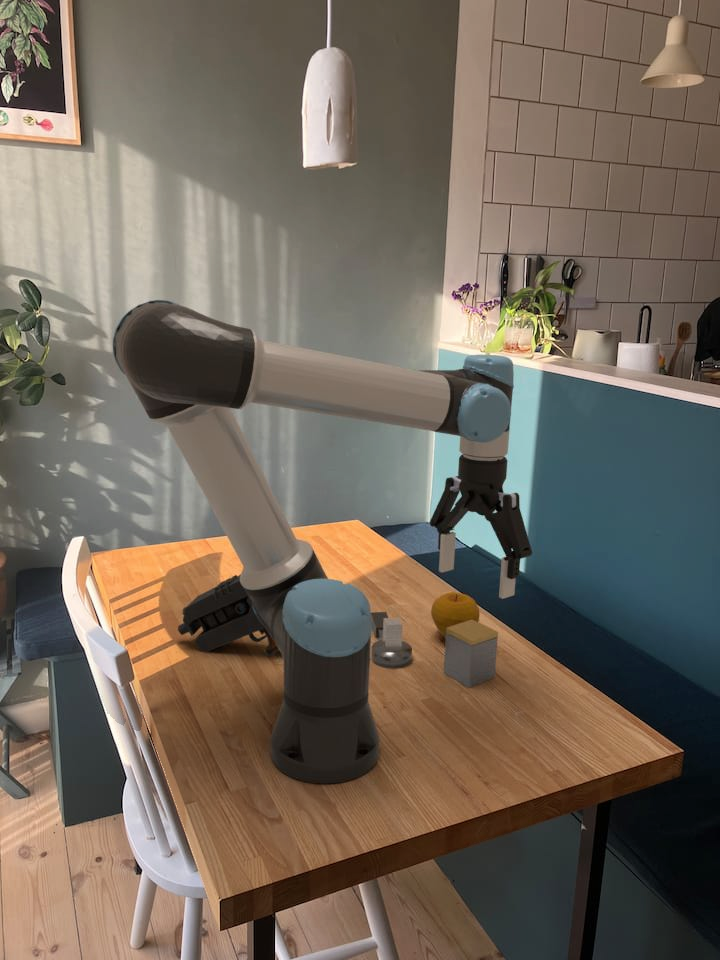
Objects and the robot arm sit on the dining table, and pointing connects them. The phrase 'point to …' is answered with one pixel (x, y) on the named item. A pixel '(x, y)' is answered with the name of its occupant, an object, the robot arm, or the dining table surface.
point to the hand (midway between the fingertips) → (475, 583)
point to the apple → (453, 610)
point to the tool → (223, 617)
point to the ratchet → (389, 642)
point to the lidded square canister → (470, 653)
